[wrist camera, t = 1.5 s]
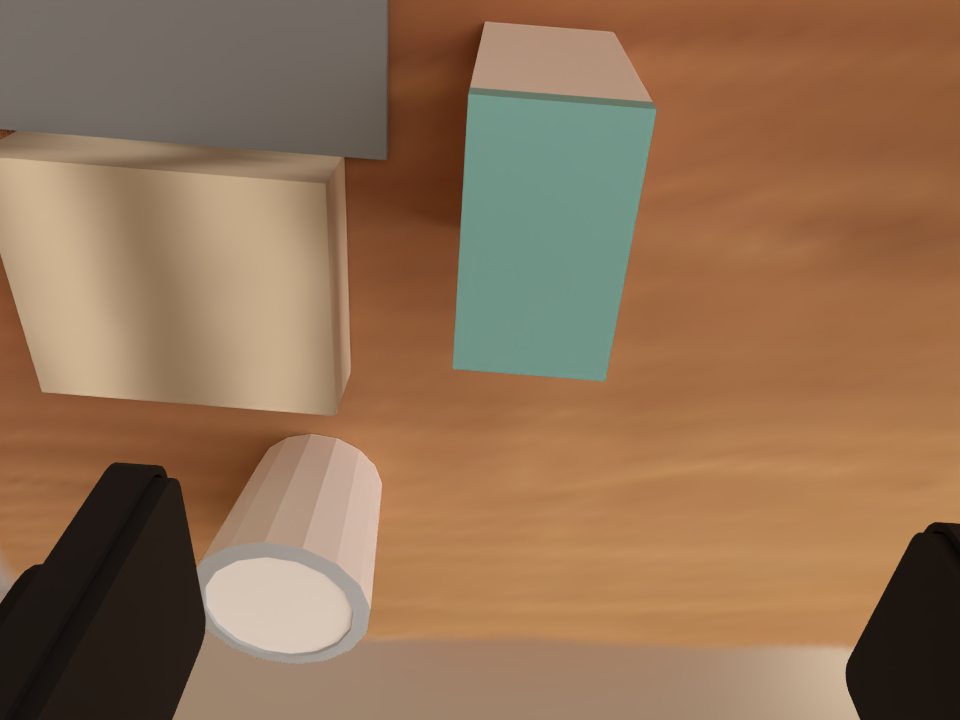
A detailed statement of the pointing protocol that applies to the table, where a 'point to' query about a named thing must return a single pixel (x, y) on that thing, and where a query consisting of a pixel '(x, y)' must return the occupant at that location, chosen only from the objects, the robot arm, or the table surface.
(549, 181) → the cream block
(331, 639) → the pale pink cylinder
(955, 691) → the robot arm
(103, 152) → the birch step
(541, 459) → the table surface
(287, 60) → the grey mat
